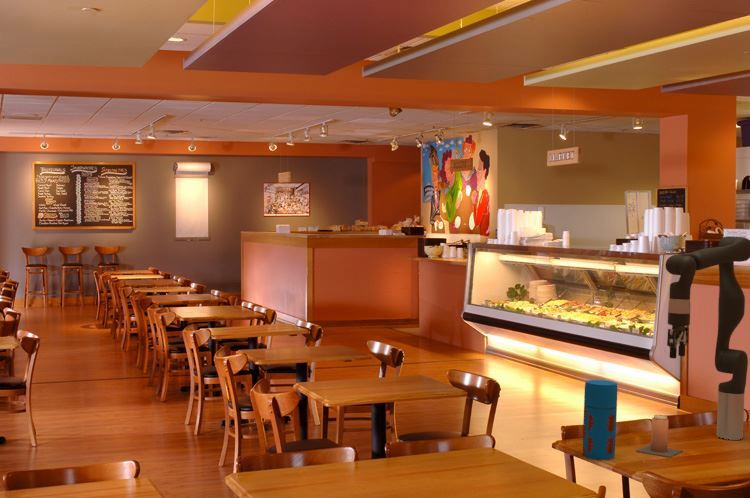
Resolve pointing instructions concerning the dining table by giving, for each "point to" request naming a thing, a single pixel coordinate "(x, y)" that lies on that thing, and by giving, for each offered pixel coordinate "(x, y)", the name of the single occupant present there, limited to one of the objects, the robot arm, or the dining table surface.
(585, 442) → the thermos
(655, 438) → the terracotta shaker
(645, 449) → the charcoal mat
